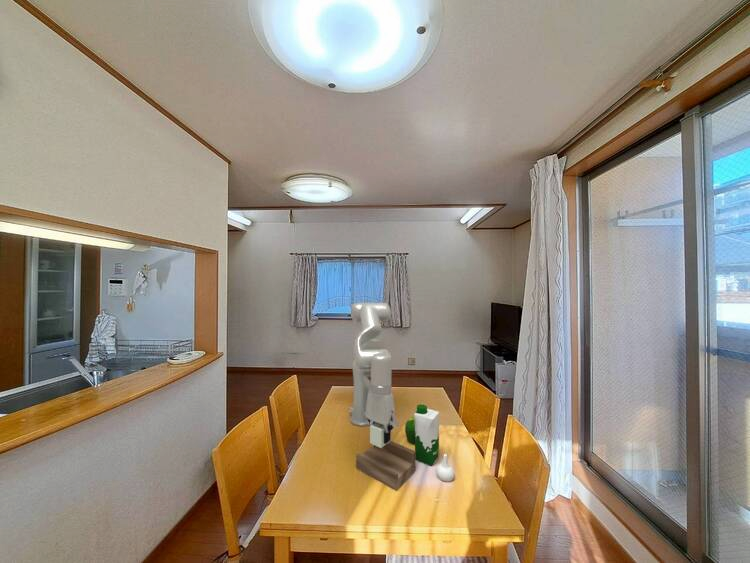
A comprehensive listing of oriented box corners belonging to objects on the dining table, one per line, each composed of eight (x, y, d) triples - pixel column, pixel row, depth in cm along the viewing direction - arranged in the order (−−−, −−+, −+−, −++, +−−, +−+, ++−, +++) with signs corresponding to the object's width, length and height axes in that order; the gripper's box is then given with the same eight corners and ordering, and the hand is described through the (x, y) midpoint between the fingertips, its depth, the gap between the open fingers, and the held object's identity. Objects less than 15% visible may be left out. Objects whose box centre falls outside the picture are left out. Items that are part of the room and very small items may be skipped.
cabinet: (369, 443, 97) (370, 423, 98) (379, 436, 102) (380, 417, 102) (381, 448, 94) (381, 427, 95) (390, 440, 99) (391, 421, 99)
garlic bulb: (435, 471, 101) (433, 450, 101) (452, 470, 101) (450, 448, 101) (438, 484, 95) (436, 460, 95) (456, 482, 94) (454, 459, 95)
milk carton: (420, 449, 114) (420, 401, 114) (441, 456, 109) (441, 406, 110) (411, 460, 106) (412, 409, 107) (433, 468, 102) (434, 414, 102)
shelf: (376, 452, 112) (377, 434, 112) (415, 470, 101) (415, 451, 101) (355, 468, 101) (356, 449, 102) (396, 490, 90) (396, 469, 91)
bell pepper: (423, 447, 115) (423, 423, 116) (404, 445, 117) (404, 421, 117) (424, 437, 124) (424, 414, 124) (406, 434, 125) (406, 413, 125)
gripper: (356, 386, 101) (356, 436, 100) (394, 397, 91) (394, 453, 90) (369, 381, 107) (368, 428, 106) (406, 391, 97) (406, 443, 96)
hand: (380, 439), depth 98 cm, fingers closed on cabinet, 5 cm apart
